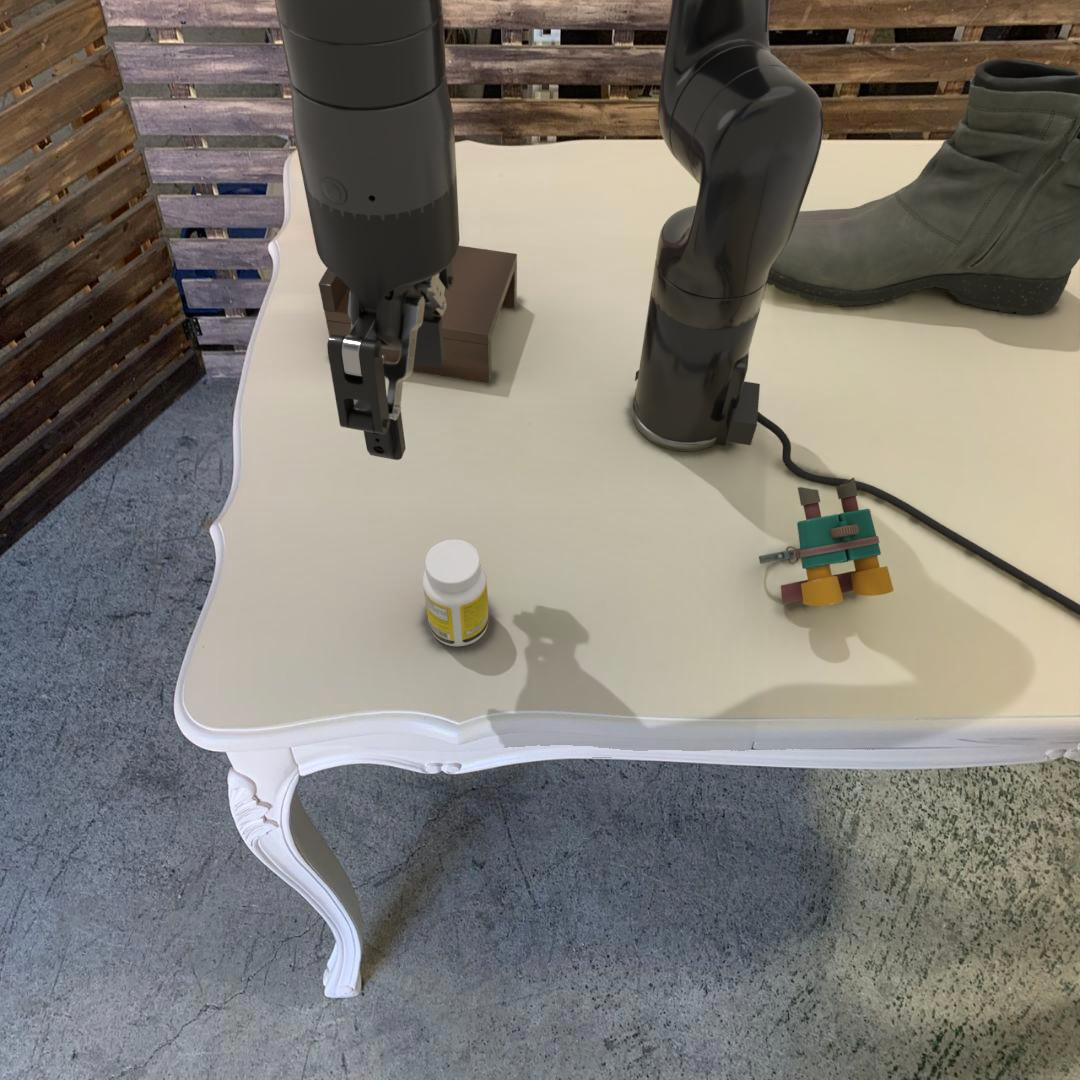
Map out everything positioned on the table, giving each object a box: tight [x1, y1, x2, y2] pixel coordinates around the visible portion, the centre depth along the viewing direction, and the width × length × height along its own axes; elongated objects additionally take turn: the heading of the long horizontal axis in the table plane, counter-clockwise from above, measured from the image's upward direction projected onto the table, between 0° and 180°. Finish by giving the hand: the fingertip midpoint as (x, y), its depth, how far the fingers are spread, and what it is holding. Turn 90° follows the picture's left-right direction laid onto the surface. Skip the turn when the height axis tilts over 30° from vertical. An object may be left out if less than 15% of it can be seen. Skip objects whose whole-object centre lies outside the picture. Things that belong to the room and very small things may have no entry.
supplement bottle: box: [422, 538, 490, 647], centre depth 68 cm, size 5×5×8 cm
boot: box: [767, 58, 1080, 316], centre depth 91 cm, size 12×37×24 cm, turn 87°
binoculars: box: [758, 477, 894, 607], centre depth 71 cm, size 9×9×10 cm
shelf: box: [318, 245, 518, 383], centre depth 89 cm, size 16×13×9 cm
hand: (408, 405), depth 57 cm, fingers open, 8 cm apart
